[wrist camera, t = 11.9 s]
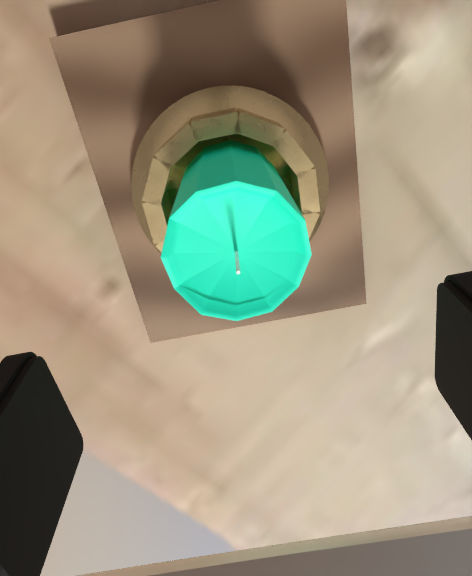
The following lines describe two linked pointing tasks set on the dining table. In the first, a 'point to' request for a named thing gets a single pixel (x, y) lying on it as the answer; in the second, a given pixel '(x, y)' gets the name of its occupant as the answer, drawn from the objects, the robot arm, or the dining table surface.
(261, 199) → the candle
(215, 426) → the dining table surface
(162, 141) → the candle holder
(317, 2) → the walnut board
